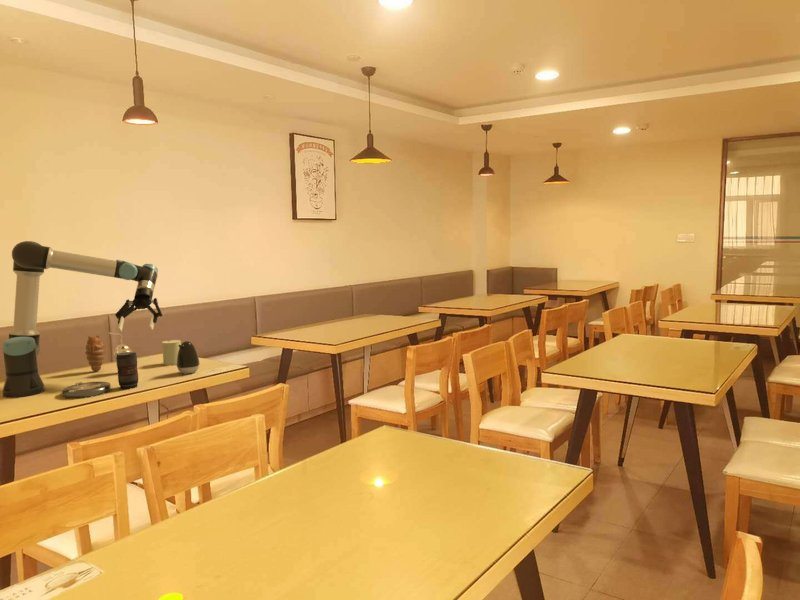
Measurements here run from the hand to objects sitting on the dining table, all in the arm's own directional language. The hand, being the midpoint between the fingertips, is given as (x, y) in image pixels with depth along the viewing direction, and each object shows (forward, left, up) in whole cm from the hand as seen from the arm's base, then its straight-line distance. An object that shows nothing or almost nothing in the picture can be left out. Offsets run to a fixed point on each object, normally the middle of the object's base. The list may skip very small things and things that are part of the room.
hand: (135, 329), depth 264 cm
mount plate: (-19, -12, -24) cm, 33 cm away
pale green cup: (+13, +35, -24) cm, 44 cm away
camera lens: (-3, -10, -24) cm, 26 cm away
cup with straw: (-9, +24, -24) cm, 35 cm away
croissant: (-22, +33, -24) cm, 46 cm away
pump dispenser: (+21, +8, -24) cm, 32 cm away
